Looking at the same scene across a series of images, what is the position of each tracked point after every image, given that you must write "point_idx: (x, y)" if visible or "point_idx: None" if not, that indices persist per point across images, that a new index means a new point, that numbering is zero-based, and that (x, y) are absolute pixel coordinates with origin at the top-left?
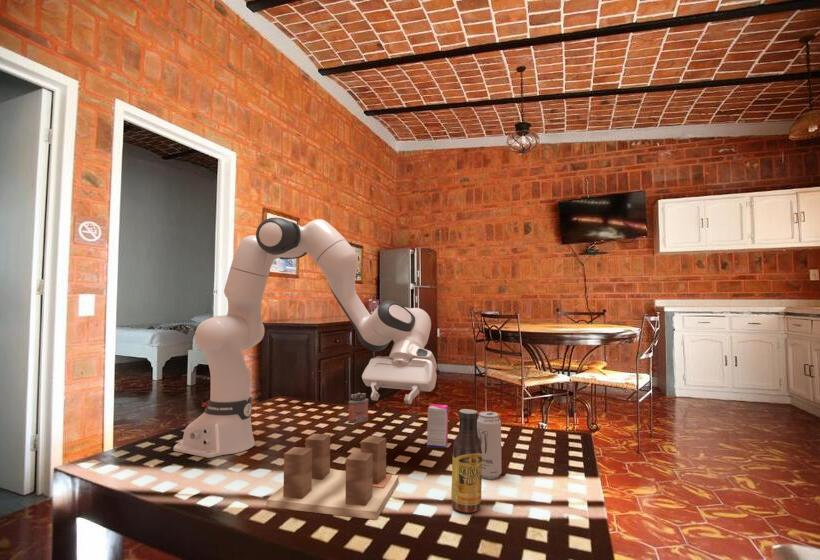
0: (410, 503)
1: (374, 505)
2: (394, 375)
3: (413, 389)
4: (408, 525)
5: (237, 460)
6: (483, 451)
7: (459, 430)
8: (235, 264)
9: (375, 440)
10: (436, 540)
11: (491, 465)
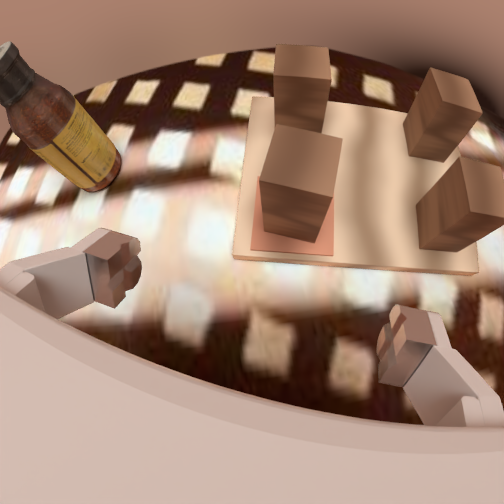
0: (197, 163)
1: (261, 112)
2: (190, 483)
3: (30, 264)
4: (198, 101)
5: None
6: None
7: (34, 74)
8: None
9: (293, 150)
10: (160, 83)
11: None
